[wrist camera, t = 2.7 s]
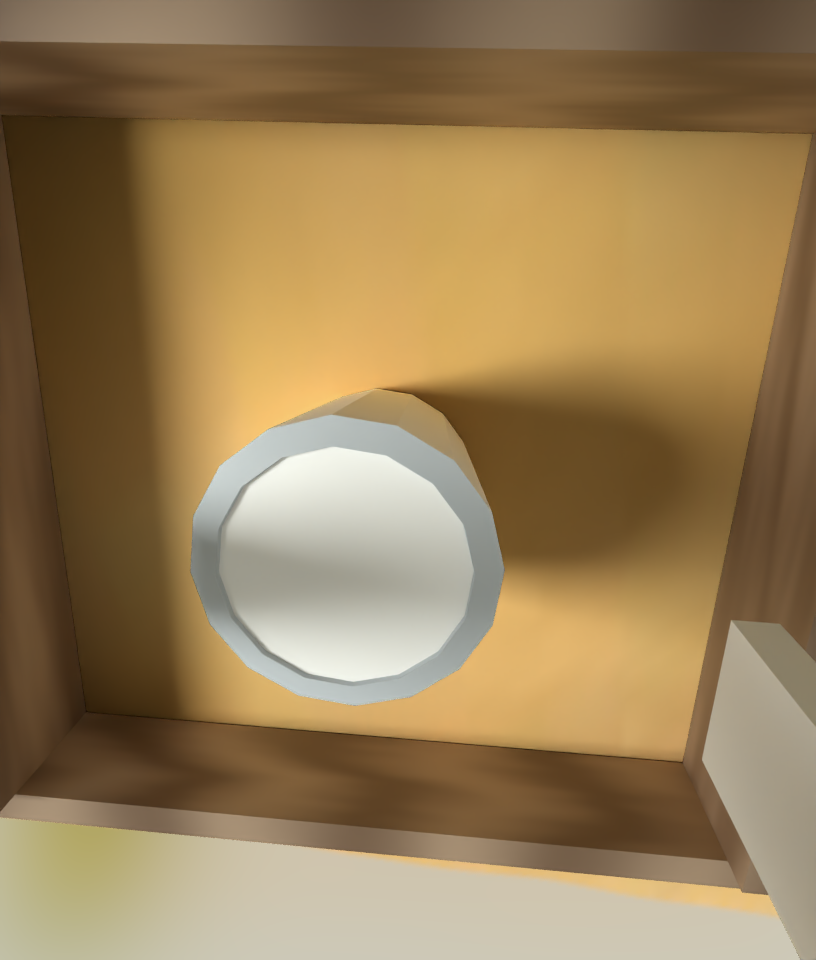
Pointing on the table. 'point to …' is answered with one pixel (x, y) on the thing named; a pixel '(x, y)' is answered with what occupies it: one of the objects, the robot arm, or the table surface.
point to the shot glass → (350, 551)
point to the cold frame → (420, 101)
